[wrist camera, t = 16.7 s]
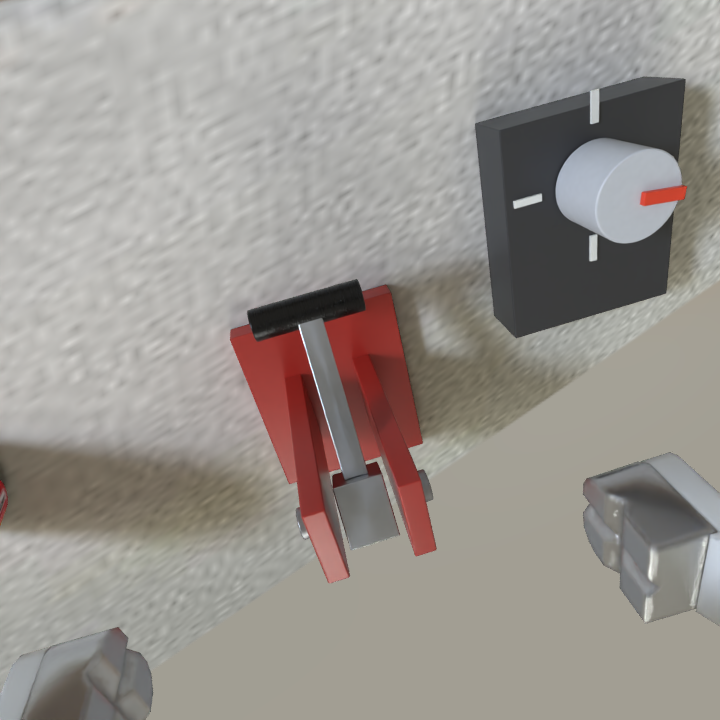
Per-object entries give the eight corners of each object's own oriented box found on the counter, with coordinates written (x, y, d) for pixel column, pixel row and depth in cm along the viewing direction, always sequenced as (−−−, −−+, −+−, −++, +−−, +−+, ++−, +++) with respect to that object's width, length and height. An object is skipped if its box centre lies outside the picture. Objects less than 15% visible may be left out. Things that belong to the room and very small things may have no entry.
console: (473, 110, 26) (499, 116, 23) (644, 62, 26) (690, 63, 24) (493, 316, 32) (516, 340, 29) (633, 275, 32) (668, 294, 30)
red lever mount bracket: (230, 329, 29) (222, 472, 19) (386, 284, 30) (458, 400, 20) (287, 472, 35) (305, 640, 25) (418, 432, 35) (487, 582, 25)
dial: (551, 228, 26) (594, 252, 23) (558, 144, 24) (606, 157, 21) (625, 216, 27) (677, 238, 24) (638, 132, 25) (697, 143, 22)
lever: (251, 312, 24) (243, 308, 22) (355, 282, 25) (358, 275, 22) (320, 540, 25) (319, 561, 22) (421, 508, 25) (431, 525, 23)
